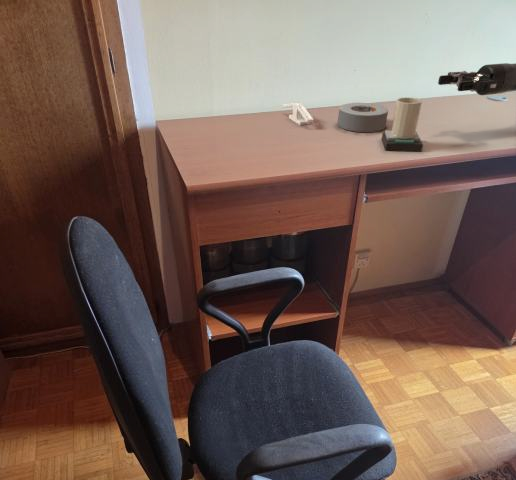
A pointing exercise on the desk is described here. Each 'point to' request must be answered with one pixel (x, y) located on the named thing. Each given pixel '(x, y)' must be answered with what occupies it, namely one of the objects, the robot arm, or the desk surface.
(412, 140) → the scale
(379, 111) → the tape roll
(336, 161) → the desk surface
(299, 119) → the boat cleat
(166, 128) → the desk surface
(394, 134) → the cup
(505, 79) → the robot arm
